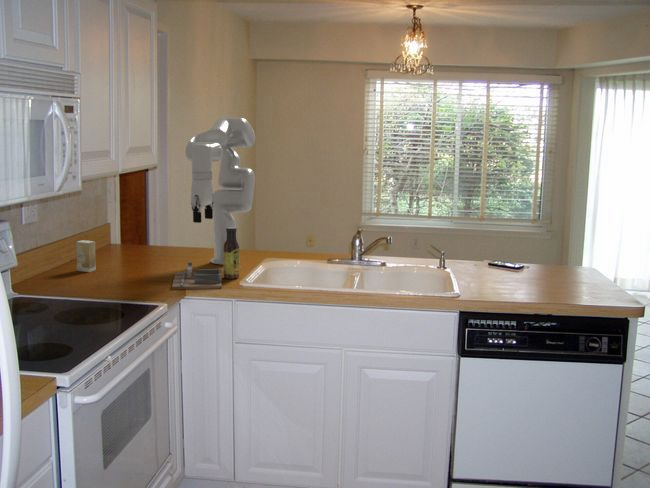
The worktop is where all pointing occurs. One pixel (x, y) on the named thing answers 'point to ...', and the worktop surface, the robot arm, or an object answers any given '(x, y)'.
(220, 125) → the robot arm
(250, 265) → the worktop surface
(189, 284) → the board
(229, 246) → the sauce bottle
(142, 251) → the worktop surface
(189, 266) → the gate
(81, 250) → the skincare box
